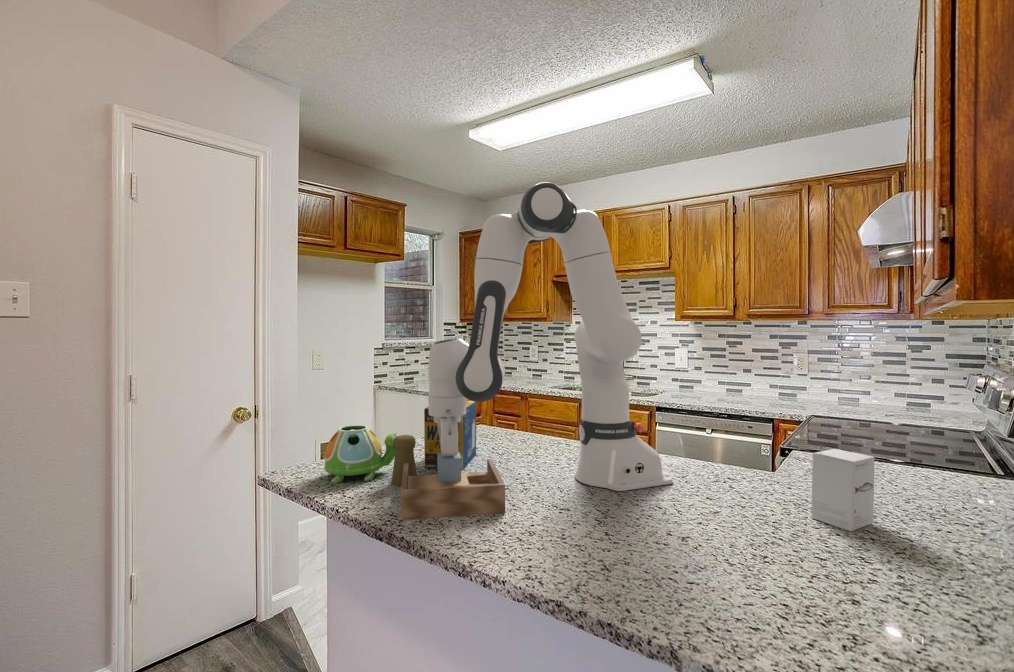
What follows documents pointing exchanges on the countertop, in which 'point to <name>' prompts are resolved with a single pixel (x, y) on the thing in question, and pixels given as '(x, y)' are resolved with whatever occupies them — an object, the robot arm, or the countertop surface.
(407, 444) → the cork
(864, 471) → the supplement box
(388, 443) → the turtle holder
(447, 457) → the slate block
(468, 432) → the protein box
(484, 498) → the tray
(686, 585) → the countertop surface
